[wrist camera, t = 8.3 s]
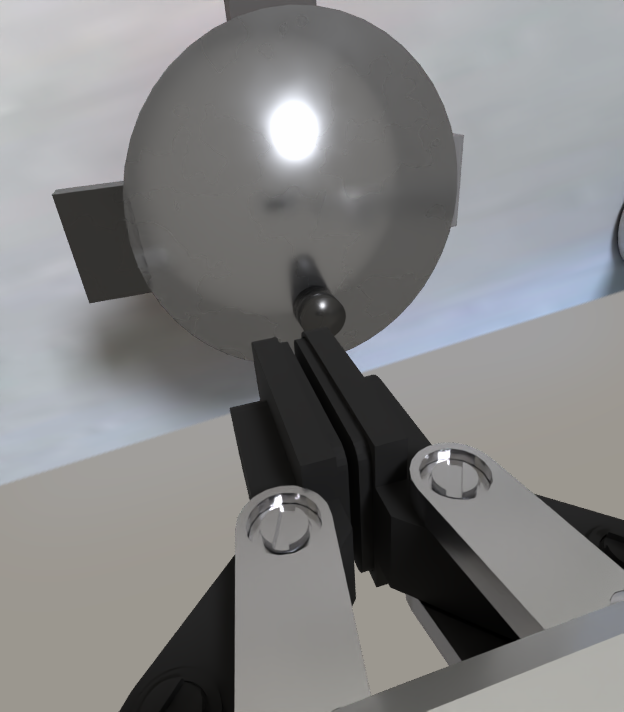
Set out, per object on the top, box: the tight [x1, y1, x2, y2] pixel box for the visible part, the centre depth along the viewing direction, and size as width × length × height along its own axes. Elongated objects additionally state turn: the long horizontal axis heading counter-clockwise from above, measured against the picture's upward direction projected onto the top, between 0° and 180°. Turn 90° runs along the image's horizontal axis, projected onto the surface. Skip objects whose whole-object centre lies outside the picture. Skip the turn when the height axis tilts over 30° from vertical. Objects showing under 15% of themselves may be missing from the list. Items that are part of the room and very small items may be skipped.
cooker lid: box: [52, 5, 457, 361], centre depth 23 cm, size 20×17×3 cm
